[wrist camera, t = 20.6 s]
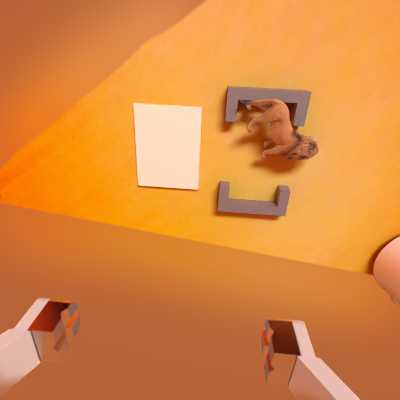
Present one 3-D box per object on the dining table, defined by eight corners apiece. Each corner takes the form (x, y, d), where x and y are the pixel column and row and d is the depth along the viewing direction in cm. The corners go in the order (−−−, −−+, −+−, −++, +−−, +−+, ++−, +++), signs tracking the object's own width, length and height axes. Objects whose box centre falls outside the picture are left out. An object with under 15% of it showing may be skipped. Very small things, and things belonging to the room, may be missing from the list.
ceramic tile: (202, 106, 41) (201, 107, 40) (198, 188, 46) (197, 189, 46) (134, 103, 41) (133, 103, 41) (139, 183, 47) (138, 185, 46)
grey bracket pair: (306, 90, 39) (311, 91, 37) (282, 210, 47) (285, 216, 45) (227, 86, 39) (228, 87, 37) (217, 205, 48) (217, 211, 46)
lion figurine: (275, 153, 45) (323, 142, 40) (270, 173, 43) (320, 164, 38) (240, 92, 38) (293, 71, 33) (232, 112, 36) (288, 92, 31)
